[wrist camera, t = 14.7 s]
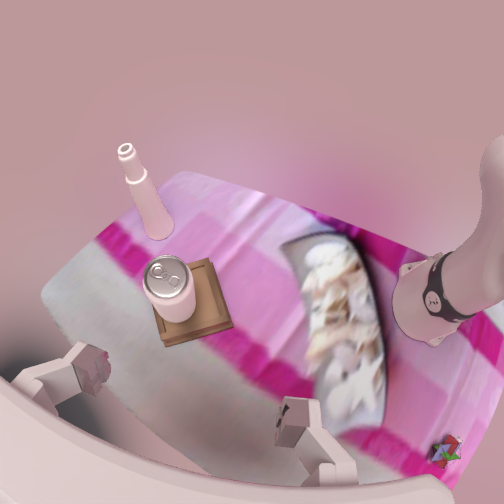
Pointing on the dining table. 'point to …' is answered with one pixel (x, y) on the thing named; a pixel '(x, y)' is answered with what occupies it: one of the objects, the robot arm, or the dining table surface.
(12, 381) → the robot arm
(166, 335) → the pedestal
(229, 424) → the dining table surface
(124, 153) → the pink bottle
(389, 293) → the dining table surface
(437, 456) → the geometric puzzle
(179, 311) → the can
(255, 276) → the dining table surface
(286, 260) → the dining table surface
